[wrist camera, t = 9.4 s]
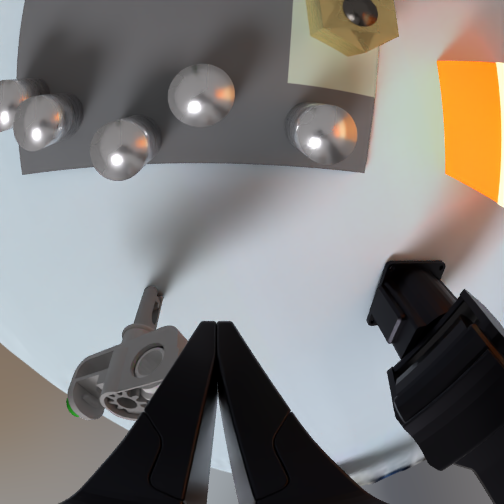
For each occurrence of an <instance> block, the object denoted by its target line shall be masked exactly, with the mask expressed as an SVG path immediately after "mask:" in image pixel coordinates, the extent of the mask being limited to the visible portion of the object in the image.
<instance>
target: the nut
mask: <svg viewBox="0 0 504 504" xmlns="http://www.w3.org/2000/svg"><path fill="white" fill-rule="evenodd" d="M305 1H306V8H307V15H308V23H309V31H310V36H311V37H313V38H315V39H317V40H319V41H321V42H323V43H325V44H326V45H328V46H330V47H332V48H334V49H335V50H337V51H339V52H341V53H342V54H344V55H346V56H347V57H349V56H353V55H358V54H362V53H366V52H368V51H370V50H372V49H374V48H376V47H378V46H380V45H382V44H384V43H386V42H388V41H390V40H392V39H394V38H396V37H399V34H398V26H397V19H396V12H395V6H394V0H305Z"/></svg>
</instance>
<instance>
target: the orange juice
mask: <svg viewBox="0 0 504 504" xmlns="http://www.w3.org/2000/svg"><path fill="white" fill-rule="evenodd" d="M437 66H438V72H439V79H440V87H441V95H442V105H443V116H444V131H445V174H447V175H449V176H451V177H453V178H455V179H457V180H459V181H460V182H462V183H464V184H466V185H468V186H470V187H471V188H473V189H475V190H477V191H478V192H480V193H482V194H484V195H485V196H487V197H489V198H490V199H492V200H494V201H495V202H497V203H498V204H499V205H500V206H502V207H503V208H504V63H500V62H496V63H491V62H474V61H437Z"/></svg>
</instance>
